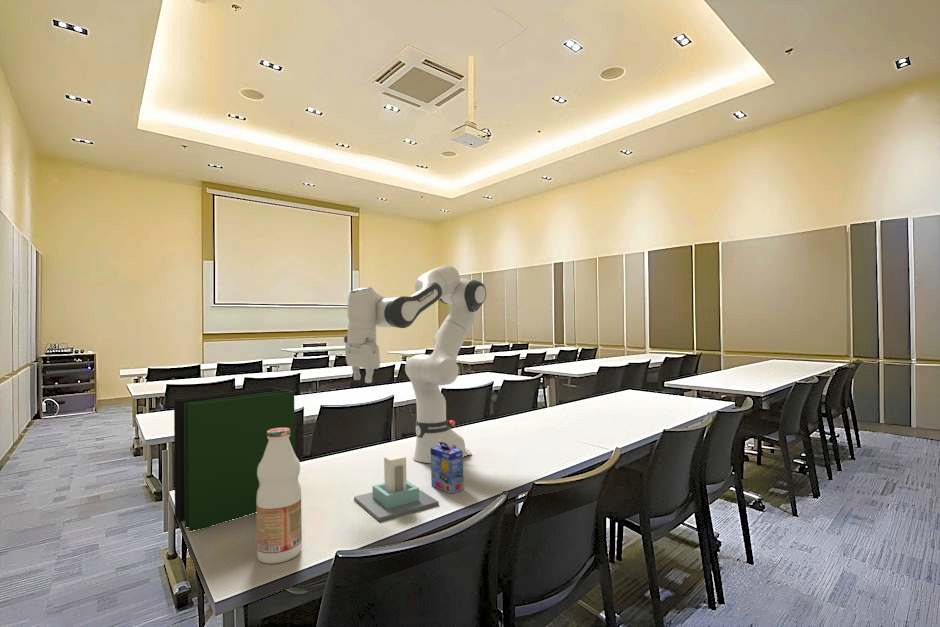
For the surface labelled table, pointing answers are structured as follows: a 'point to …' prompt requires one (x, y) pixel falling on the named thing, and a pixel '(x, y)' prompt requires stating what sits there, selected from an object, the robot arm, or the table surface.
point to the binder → (224, 451)
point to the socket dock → (394, 501)
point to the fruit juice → (278, 500)
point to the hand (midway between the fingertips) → (362, 381)
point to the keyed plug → (395, 473)
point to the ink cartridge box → (447, 468)
